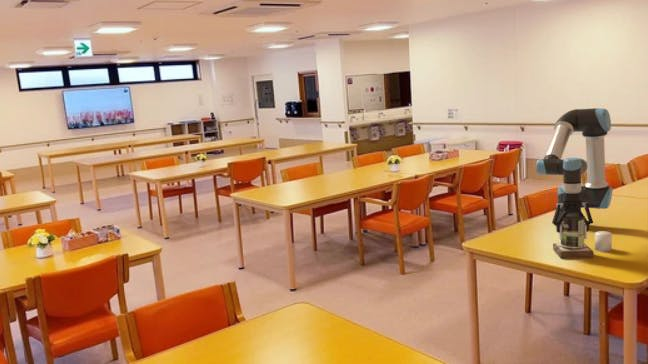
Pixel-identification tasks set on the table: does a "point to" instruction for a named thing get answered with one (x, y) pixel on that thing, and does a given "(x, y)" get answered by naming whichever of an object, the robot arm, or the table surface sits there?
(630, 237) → the table surface
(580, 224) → the coffee can
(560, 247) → the picture frame
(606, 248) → the cream egg shape
